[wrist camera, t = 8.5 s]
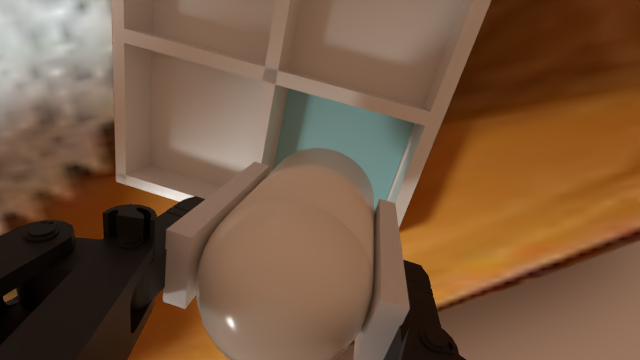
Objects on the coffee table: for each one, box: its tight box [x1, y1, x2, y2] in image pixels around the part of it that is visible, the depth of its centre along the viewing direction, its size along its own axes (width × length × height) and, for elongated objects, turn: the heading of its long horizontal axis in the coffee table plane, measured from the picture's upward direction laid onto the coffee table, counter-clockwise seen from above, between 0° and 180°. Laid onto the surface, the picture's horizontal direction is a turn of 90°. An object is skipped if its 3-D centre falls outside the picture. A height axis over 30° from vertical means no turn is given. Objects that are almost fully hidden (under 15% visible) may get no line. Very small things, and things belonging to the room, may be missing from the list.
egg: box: [196, 148, 374, 360], centre depth 11 cm, size 6×6×9 cm
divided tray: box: [111, 0, 491, 227], centre depth 19 cm, size 20×20×4 cm
